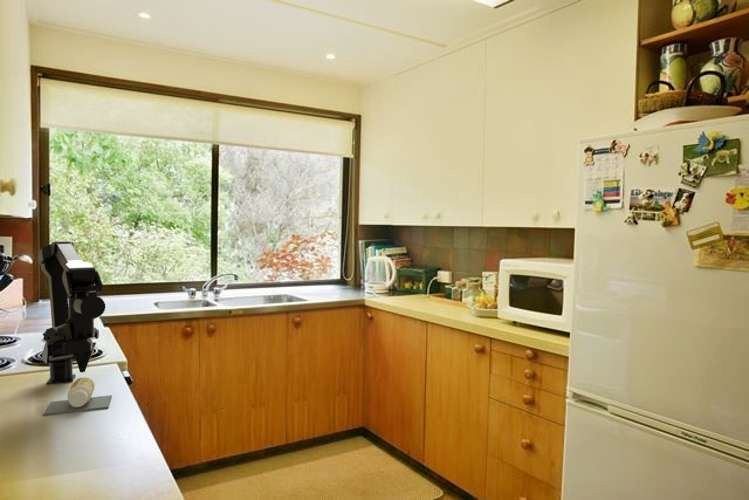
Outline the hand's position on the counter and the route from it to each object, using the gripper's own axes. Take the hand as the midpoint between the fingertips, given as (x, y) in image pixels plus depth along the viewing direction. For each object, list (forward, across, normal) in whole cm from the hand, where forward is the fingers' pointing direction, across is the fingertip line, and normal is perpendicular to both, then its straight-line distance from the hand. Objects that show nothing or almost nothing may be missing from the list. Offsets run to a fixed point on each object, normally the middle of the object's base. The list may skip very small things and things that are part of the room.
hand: (82, 371), depth 134 cm
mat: (+7, +6, 0) cm, 9 cm away
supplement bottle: (+4, 0, 0) cm, 4 cm away
